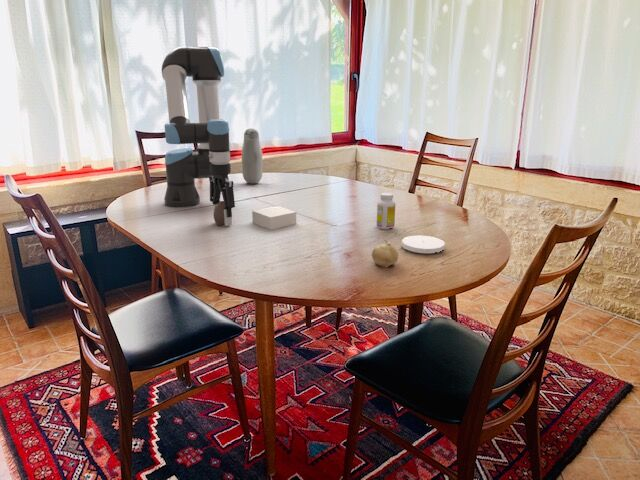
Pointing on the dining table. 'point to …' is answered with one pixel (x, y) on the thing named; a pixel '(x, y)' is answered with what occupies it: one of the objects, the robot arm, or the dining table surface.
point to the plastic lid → (423, 244)
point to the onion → (385, 254)
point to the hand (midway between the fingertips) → (223, 222)
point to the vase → (219, 213)
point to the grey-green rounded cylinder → (251, 157)
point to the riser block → (274, 217)
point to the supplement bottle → (386, 211)
